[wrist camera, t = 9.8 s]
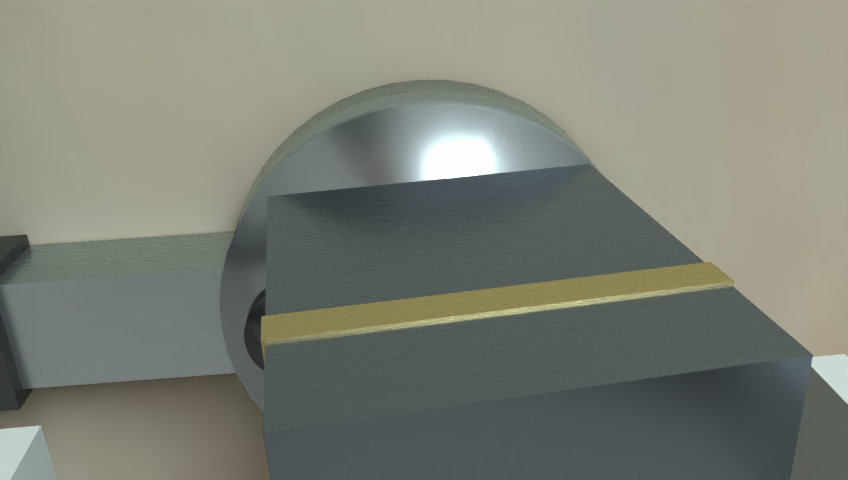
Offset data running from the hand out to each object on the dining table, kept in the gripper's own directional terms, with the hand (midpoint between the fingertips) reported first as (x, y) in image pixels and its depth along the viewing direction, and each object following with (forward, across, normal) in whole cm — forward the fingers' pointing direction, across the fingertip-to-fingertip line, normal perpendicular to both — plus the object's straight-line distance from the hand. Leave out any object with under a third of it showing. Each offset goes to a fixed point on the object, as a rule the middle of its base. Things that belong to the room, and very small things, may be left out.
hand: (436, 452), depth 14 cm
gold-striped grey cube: (+5, 0, 0) cm, 5 cm away
